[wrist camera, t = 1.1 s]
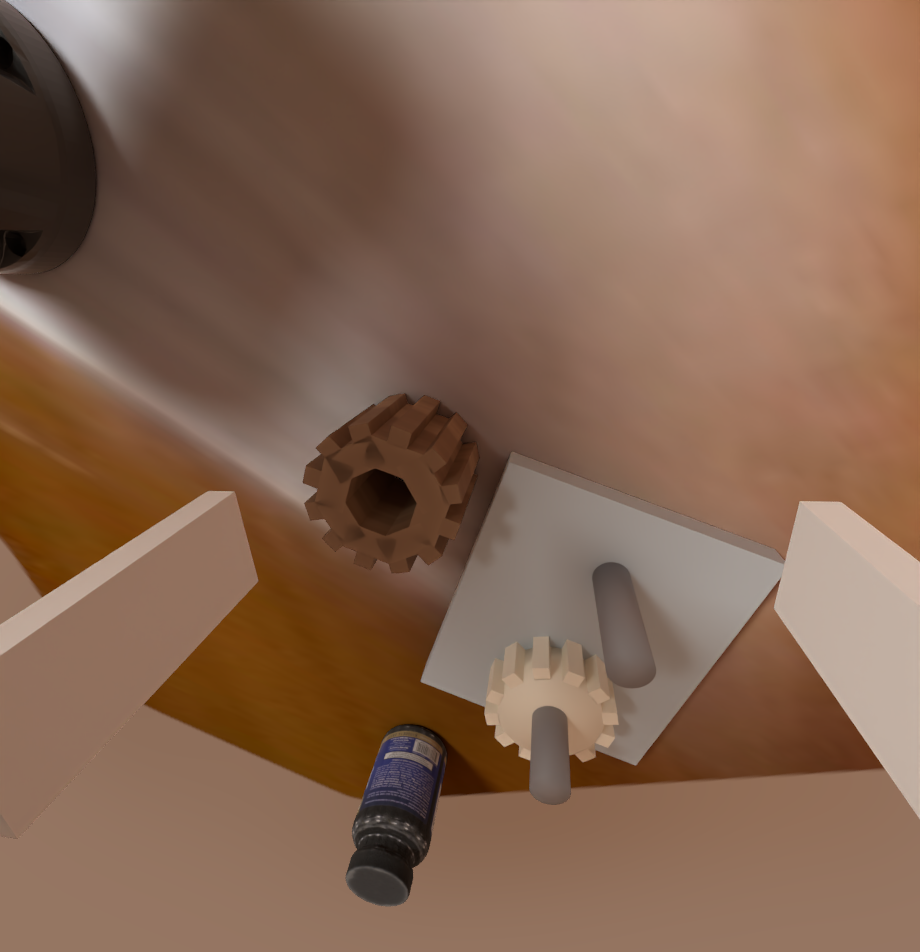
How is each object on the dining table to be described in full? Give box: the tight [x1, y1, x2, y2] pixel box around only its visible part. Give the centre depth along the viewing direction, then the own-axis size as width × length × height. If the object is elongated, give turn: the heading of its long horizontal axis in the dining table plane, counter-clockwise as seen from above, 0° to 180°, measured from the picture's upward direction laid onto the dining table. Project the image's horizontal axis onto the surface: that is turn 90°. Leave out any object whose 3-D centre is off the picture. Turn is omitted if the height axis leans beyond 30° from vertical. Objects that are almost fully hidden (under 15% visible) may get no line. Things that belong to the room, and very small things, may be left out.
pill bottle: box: [346, 724, 447, 906], centre depth 38 cm, size 6×6×11 cm
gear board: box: [420, 451, 785, 805], centre depth 30 cm, size 18×20×10 cm
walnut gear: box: [303, 393, 479, 573], centre depth 29 cm, size 9×9×7 cm
